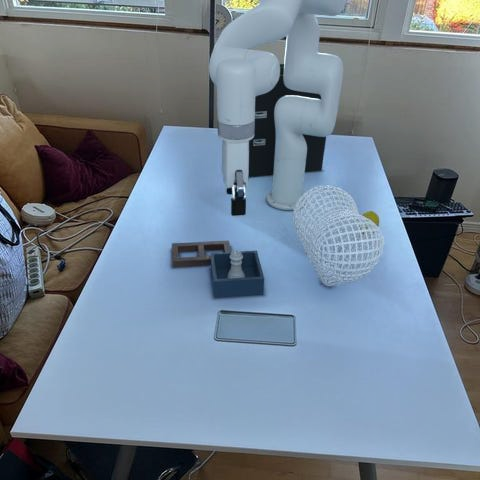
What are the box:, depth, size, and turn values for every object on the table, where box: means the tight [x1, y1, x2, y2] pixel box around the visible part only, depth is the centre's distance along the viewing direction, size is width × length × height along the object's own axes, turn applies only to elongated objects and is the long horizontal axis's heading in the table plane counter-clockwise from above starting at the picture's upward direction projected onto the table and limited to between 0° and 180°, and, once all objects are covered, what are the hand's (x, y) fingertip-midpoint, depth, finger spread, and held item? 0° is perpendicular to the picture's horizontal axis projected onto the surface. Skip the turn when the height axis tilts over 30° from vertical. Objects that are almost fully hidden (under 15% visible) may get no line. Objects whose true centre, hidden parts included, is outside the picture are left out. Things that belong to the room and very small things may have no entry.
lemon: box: [360, 210, 380, 237], centre depth 133 cm, size 6×6×8 cm
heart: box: [292, 185, 385, 287], centre depth 111 cm, size 28×16×22 cm, turn 14°
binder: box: [248, 63, 327, 178], centre depth 159 cm, size 27×15×32 cm, turn 102°
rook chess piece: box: [227, 250, 245, 279], centre depth 115 cm, size 4×4×8 cm
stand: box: [171, 240, 232, 269], centre depth 125 cm, size 9×16×2 cm, turn 97°
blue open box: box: [209, 250, 265, 299], centre depth 116 cm, size 12×12×5 cm
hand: (235, 203), depth 107 cm, fingers open, 9 cm apart
